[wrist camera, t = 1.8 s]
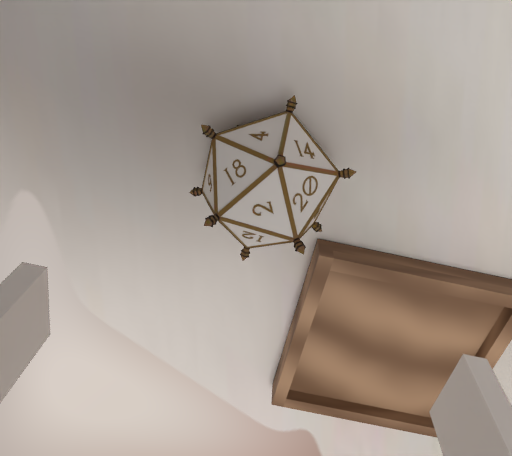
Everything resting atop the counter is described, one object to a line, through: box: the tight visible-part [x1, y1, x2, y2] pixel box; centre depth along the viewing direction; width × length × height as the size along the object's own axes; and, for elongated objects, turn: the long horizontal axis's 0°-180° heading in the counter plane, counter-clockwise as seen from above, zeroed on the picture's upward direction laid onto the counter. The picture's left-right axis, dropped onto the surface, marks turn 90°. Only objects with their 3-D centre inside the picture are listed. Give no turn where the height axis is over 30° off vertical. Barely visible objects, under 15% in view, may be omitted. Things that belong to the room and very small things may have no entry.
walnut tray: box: [272, 239, 512, 437], centre depth 34 cm, size 15×15×2 cm
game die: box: [189, 95, 356, 260], centre depth 25 cm, size 9×8×10 cm
